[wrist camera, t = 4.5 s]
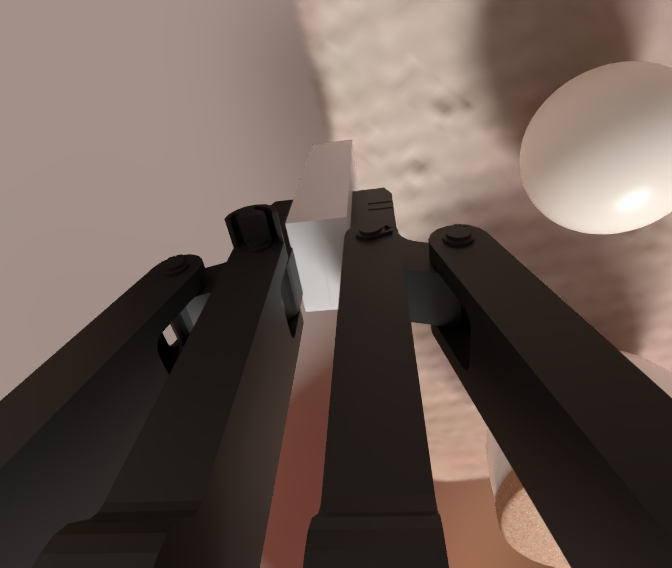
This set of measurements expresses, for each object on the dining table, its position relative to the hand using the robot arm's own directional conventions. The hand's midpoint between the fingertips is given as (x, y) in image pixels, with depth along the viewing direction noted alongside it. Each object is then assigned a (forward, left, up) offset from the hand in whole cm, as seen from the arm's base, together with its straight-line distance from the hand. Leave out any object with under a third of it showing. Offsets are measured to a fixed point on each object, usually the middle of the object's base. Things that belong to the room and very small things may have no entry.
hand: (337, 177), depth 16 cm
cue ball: (+2, +9, +1) cm, 9 cm away
